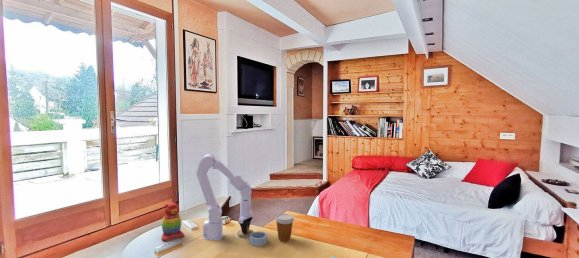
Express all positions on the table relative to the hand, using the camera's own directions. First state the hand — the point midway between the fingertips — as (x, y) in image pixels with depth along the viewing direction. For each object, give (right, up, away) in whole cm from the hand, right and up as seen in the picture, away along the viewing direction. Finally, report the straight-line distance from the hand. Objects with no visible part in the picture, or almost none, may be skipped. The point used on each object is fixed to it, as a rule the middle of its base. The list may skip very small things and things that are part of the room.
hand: (245, 231), depth 147 cm
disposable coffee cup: (+21, -3, -4) cm, 22 cm away
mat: (0, -2, 0) cm, 2 cm away
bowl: (+8, -3, -9) cm, 12 cm away
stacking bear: (-39, -2, -2) cm, 39 cm away
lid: (0, -1, 0) cm, 1 cm away
